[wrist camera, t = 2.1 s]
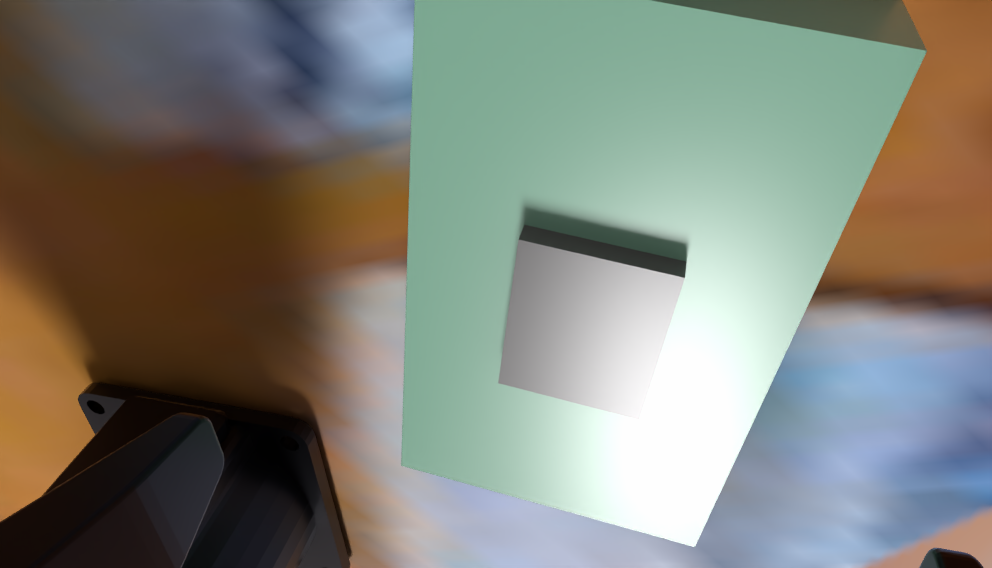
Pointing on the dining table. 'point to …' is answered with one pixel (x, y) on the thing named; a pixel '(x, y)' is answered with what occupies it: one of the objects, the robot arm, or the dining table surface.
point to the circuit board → (626, 233)
